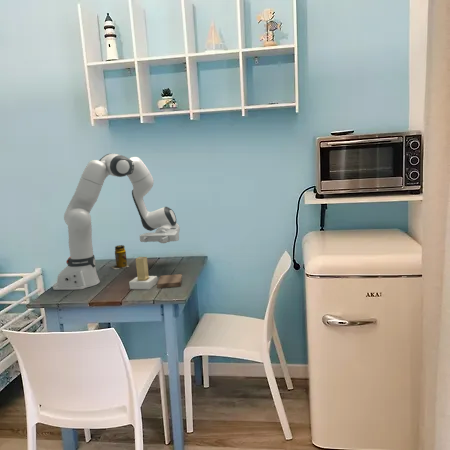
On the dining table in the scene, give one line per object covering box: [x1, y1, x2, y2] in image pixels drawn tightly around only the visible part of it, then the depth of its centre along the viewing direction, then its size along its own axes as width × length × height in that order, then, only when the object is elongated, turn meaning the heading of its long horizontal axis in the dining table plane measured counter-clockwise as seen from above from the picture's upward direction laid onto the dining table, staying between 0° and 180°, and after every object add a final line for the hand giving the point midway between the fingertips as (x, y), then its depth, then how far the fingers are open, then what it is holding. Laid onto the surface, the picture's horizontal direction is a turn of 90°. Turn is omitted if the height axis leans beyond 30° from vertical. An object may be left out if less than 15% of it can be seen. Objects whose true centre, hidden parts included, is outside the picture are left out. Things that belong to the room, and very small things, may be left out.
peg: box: [135, 256, 150, 281], centre depth 225 cm, size 4×4×14 cm
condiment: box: [111, 244, 130, 270], centre depth 265 cm, size 7×8×12 cm
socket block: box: [128, 275, 158, 290], centre depth 226 cm, size 10×10×4 cm
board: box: [156, 273, 183, 289], centre depth 229 cm, size 11×14×2 cm
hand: (153, 240), depth 238 cm, fingers open, 8 cm apart
